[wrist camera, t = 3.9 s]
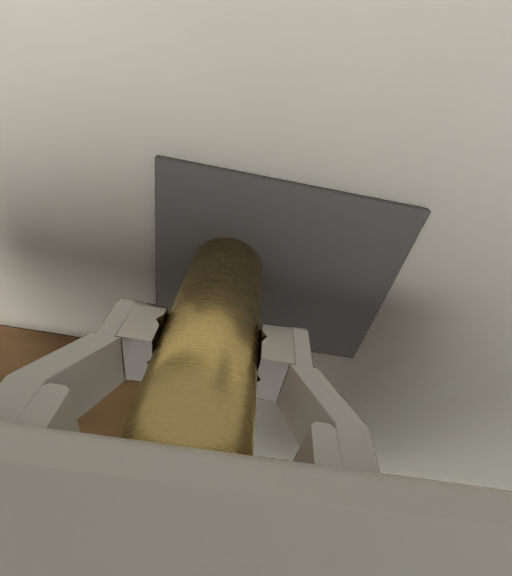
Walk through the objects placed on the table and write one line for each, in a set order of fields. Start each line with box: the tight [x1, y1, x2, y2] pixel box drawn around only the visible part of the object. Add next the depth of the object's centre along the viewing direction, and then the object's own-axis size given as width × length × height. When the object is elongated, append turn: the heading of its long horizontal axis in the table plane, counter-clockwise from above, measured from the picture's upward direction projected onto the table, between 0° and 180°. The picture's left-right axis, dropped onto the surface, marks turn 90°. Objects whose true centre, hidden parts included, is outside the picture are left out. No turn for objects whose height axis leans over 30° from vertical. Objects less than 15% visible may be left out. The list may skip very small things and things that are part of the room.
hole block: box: [0, 325, 141, 437], centre depth 18 cm, size 12×12×5 cm
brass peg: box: [118, 237, 263, 456], centre depth 9 cm, size 3×3×10 cm
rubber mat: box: [155, 155, 431, 358], centre depth 14 cm, size 10×8×1 cm
